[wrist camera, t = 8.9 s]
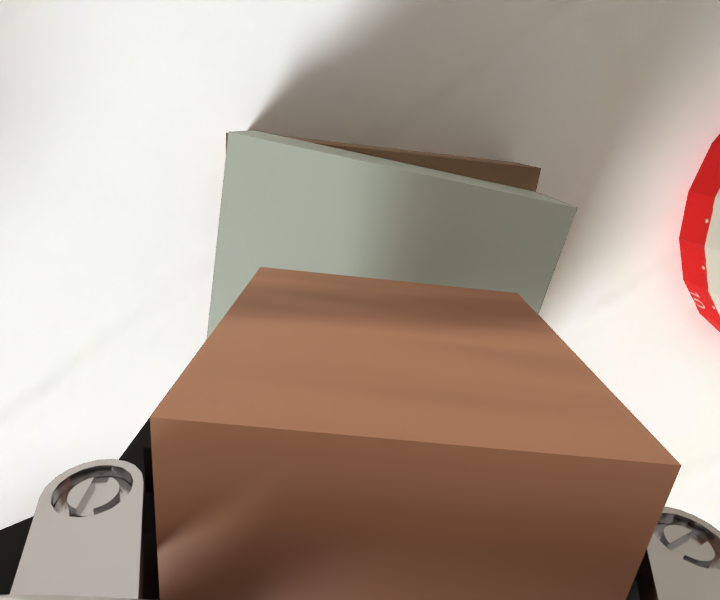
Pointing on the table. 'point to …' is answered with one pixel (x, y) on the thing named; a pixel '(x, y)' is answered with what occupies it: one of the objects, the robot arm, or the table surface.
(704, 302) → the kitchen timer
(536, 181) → the base block
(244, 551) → the rust block
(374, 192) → the top block
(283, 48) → the table surface
